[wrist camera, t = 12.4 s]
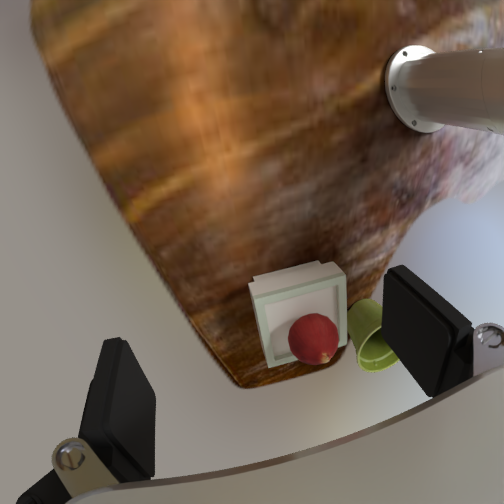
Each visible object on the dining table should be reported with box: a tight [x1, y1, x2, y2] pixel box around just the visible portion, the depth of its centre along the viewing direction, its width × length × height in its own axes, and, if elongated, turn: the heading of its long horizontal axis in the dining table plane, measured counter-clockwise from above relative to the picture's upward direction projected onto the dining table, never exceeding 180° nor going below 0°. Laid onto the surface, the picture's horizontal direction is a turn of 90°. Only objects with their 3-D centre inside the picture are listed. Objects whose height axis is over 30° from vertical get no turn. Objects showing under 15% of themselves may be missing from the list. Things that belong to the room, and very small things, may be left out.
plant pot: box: [347, 299, 400, 372], centre depth 45 cm, size 9×9×9 cm
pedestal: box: [248, 260, 347, 368], centre depth 42 cm, size 11×11×7 cm
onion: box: [288, 313, 339, 365], centre depth 36 cm, size 6×6×8 cm
